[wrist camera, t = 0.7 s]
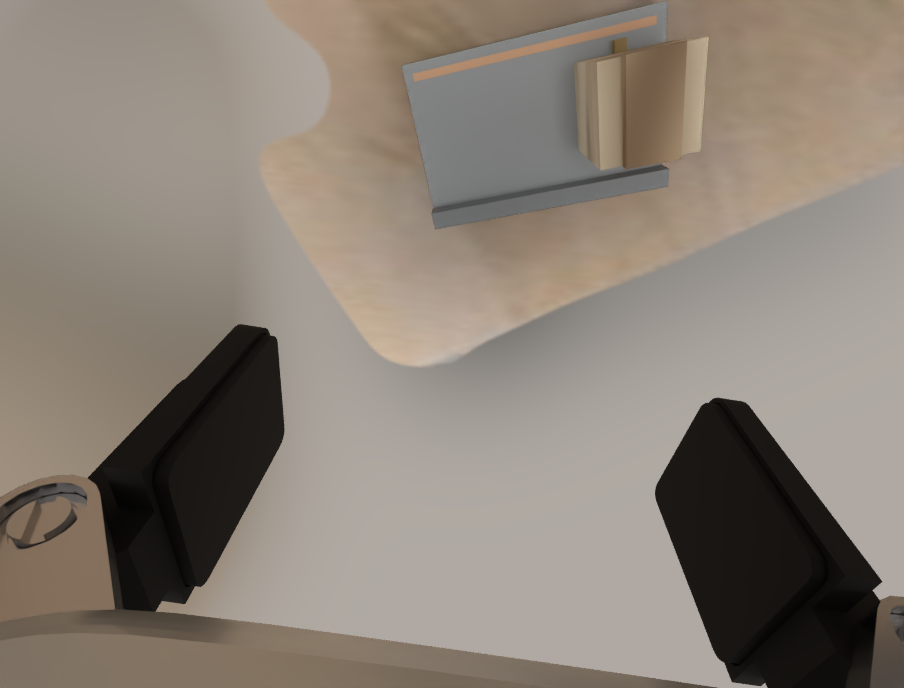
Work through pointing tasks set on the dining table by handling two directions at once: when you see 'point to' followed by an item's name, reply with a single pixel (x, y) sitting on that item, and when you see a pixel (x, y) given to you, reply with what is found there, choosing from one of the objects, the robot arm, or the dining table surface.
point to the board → (520, 121)
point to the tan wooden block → (641, 103)
